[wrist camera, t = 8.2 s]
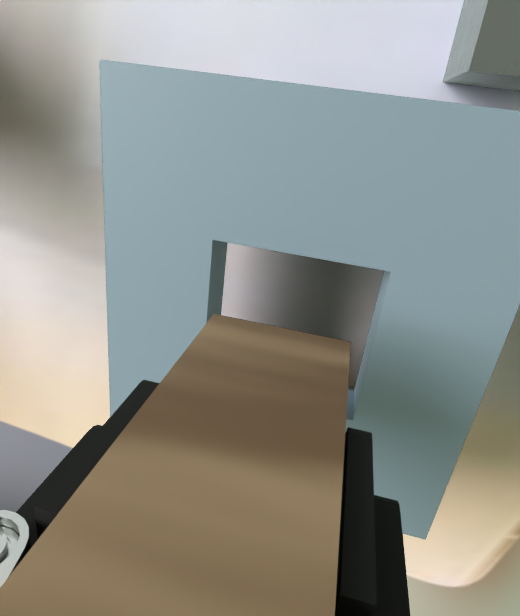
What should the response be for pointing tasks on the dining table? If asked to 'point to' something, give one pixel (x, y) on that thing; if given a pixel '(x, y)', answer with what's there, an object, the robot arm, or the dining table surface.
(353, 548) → the robot arm
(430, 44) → the dining table surface
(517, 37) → the short pin
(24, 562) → the long pin
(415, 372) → the board
